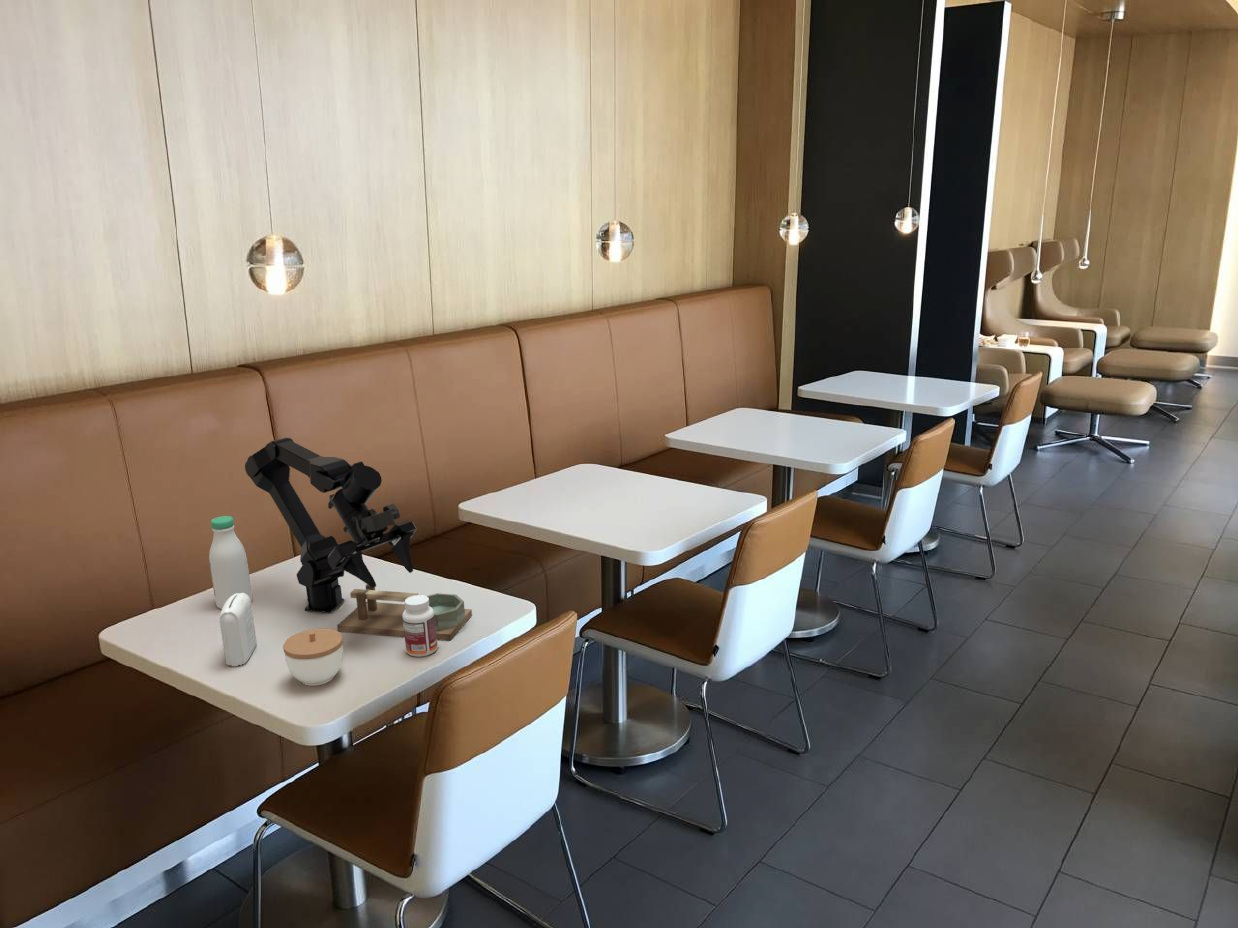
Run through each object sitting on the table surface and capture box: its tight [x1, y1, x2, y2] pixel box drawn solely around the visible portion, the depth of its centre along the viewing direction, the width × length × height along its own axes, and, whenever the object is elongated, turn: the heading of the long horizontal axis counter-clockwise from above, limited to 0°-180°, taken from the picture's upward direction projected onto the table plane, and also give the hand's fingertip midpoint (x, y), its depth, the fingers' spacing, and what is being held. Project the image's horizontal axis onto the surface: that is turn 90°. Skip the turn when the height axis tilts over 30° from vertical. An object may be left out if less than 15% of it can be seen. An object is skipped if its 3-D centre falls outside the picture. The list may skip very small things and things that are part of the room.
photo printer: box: [219, 593, 257, 667], centre depth 203 cm, size 10×4×12 cm, turn 5°
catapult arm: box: [349, 588, 466, 631], centre depth 215 cm, size 24×10×5 cm, turn 77°
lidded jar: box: [282, 628, 344, 687], centre depth 193 cm, size 11×11×9 cm
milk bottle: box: [208, 515, 253, 610], centre depth 226 cm, size 8×8×20 cm
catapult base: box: [336, 584, 473, 642], centre depth 215 cm, size 25×12×7 cm, turn 77°
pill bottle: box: [402, 594, 438, 658], centre depth 203 cm, size 6×6×11 cm
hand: (393, 579), depth 206 cm, fingers open, 9 cm apart
